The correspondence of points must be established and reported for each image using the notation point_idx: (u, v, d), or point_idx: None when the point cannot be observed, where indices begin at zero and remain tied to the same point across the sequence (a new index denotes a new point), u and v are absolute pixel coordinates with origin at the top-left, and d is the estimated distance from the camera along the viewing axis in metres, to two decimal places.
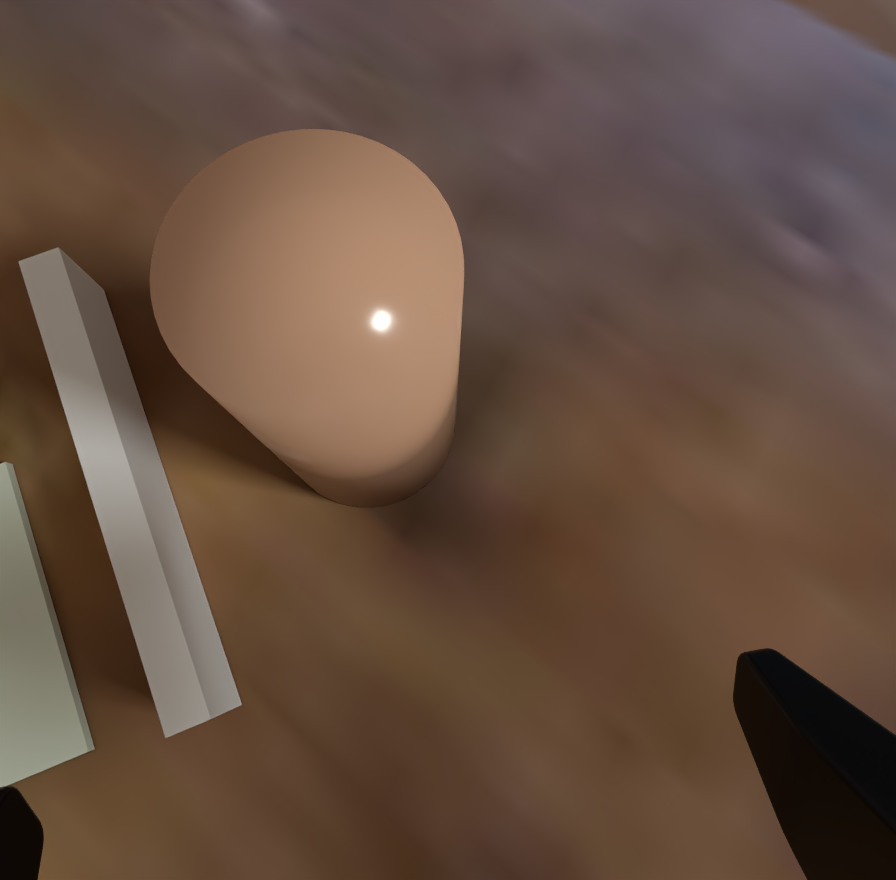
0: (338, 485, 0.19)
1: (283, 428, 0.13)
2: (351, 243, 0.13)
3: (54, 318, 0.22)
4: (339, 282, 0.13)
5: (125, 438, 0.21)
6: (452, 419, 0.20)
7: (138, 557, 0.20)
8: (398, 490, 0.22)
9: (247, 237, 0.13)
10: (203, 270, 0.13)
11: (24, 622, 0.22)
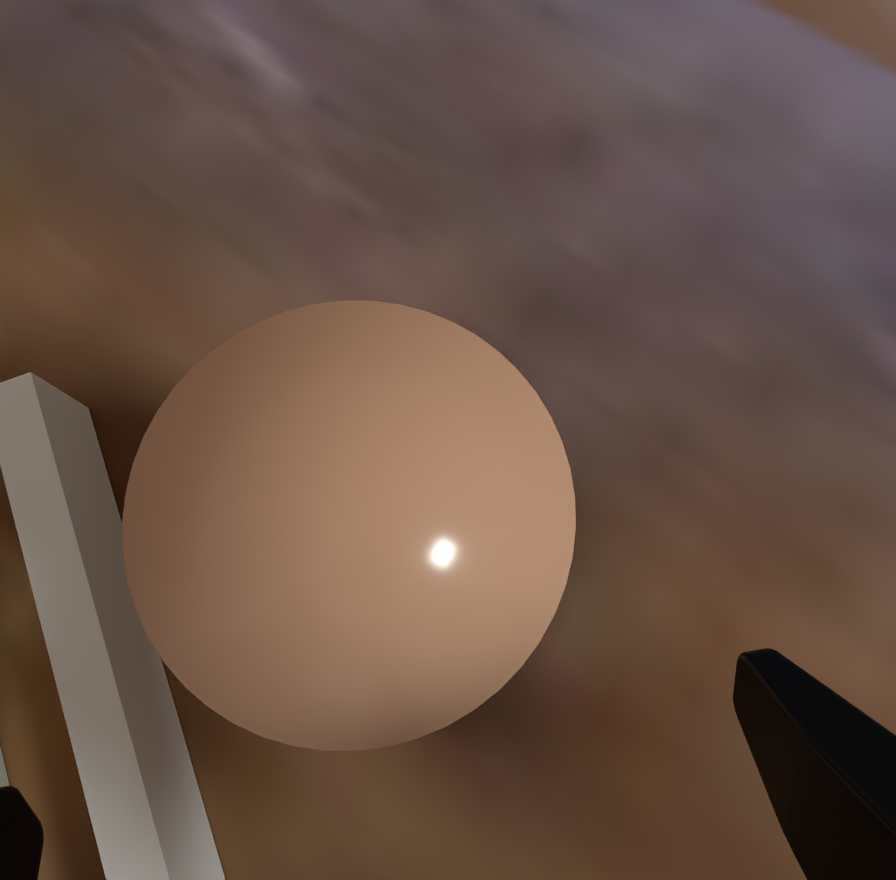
0: None
1: None
2: (412, 470, 0.09)
3: (22, 462, 0.18)
4: (394, 532, 0.09)
5: (104, 615, 0.17)
6: None
7: (116, 777, 0.16)
8: None
9: (265, 461, 0.09)
10: (201, 510, 0.09)
11: None
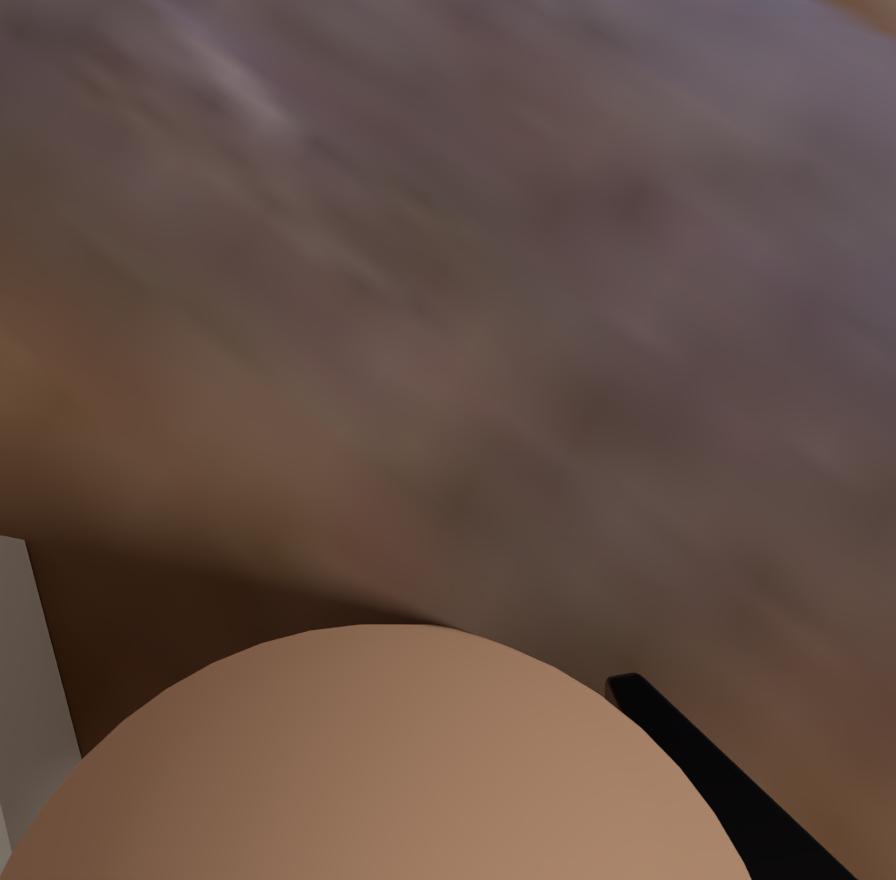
0: None
1: None
2: None
3: None
4: None
5: None
6: None
7: None
8: None
9: None
10: None
11: None
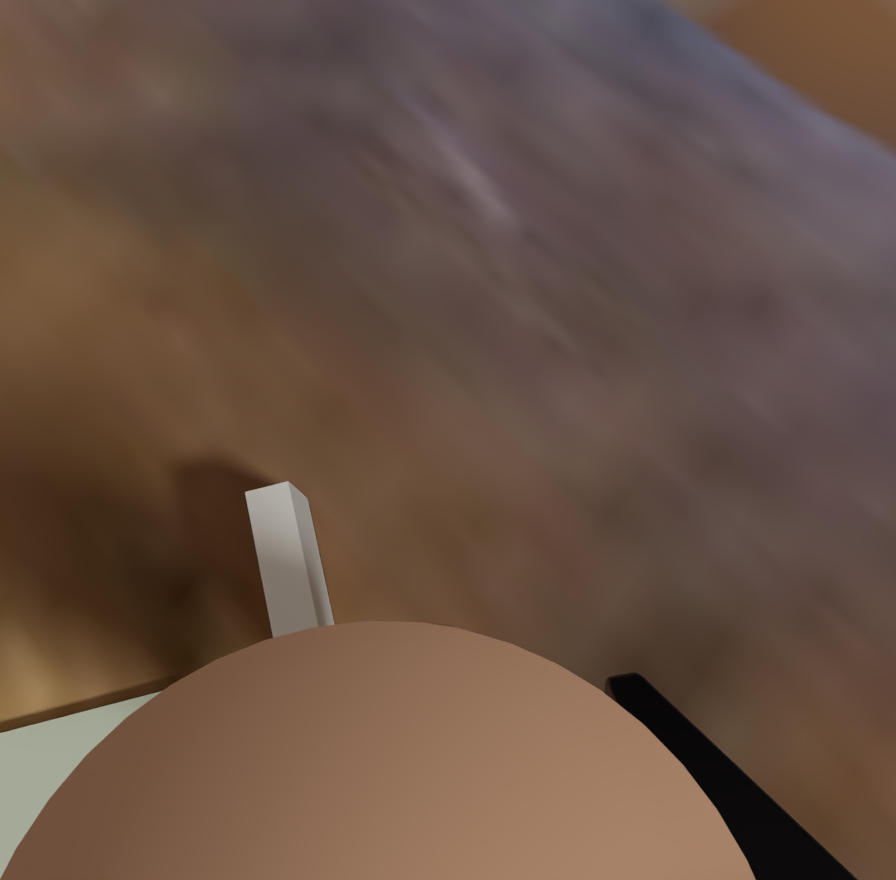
0: None
1: None
2: None
3: (277, 562, 0.20)
4: None
5: None
6: None
7: None
8: None
9: None
10: None
11: None
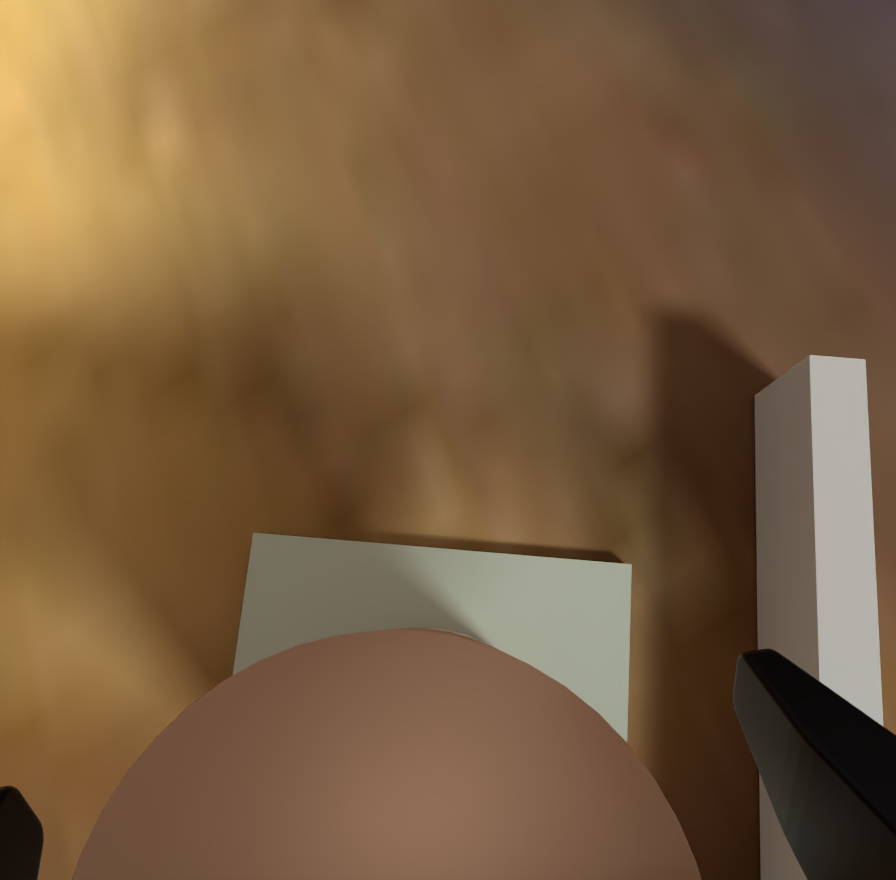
0: None
1: None
2: None
3: (836, 450, 0.16)
4: None
5: (869, 649, 0.15)
6: None
7: None
8: None
9: None
10: None
11: None
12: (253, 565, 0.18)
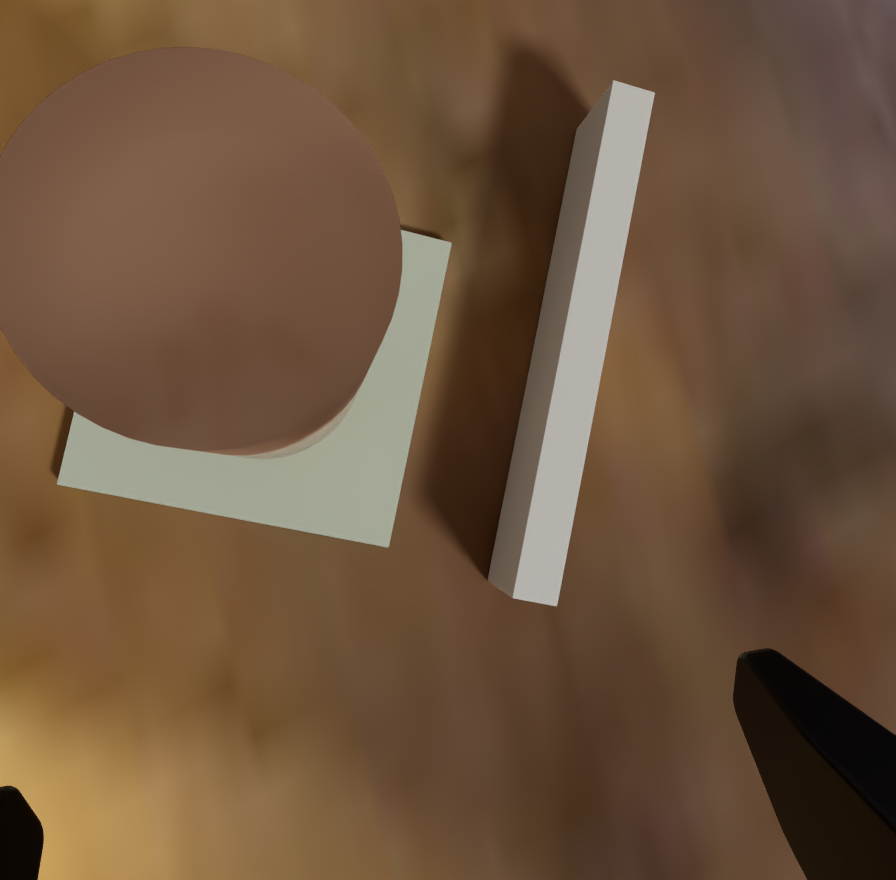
0: None
1: None
2: (262, 222, 0.10)
3: (616, 159, 0.20)
4: (239, 274, 0.10)
5: (608, 312, 0.20)
6: None
7: (571, 429, 0.20)
8: (286, 453, 0.19)
9: (125, 189, 0.10)
10: (59, 225, 0.10)
11: (393, 400, 0.22)
12: None
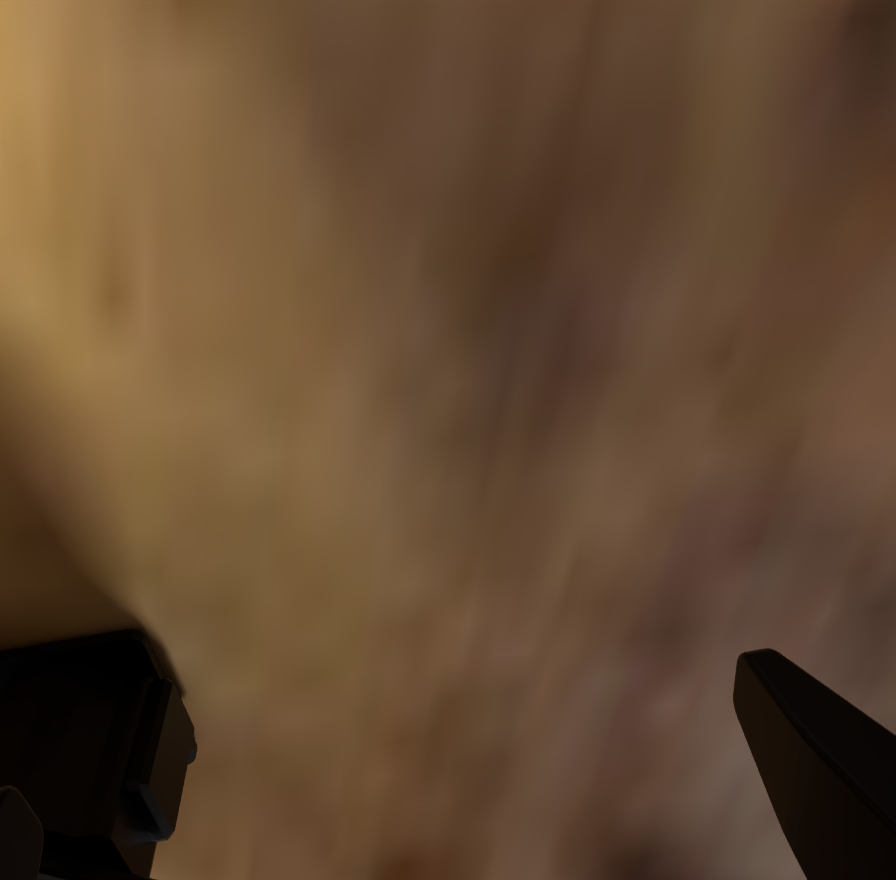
0: None
1: None
2: None
3: None
4: None
5: None
6: None
7: None
8: None
9: None
10: None
11: None
12: None
